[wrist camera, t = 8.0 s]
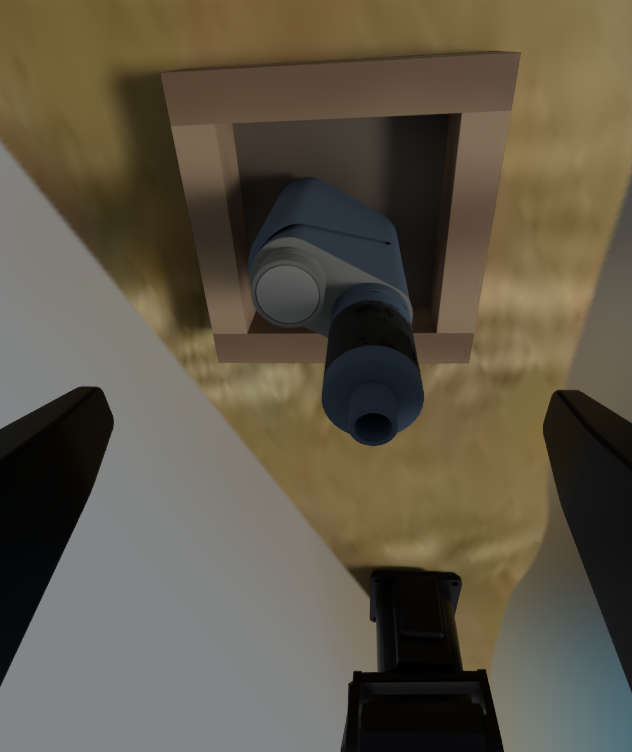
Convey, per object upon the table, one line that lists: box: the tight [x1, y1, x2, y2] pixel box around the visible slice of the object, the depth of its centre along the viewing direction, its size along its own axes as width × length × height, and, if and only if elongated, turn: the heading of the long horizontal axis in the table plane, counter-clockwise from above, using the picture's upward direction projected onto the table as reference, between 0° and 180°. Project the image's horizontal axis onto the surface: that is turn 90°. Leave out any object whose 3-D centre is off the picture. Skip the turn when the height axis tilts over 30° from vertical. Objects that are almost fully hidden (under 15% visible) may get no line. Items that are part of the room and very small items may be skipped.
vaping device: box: [248, 178, 424, 446], centre depth 15 cm, size 3×5×12 cm, turn 63°
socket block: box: [160, 51, 521, 363], centre depth 19 cm, size 11×11×3 cm
